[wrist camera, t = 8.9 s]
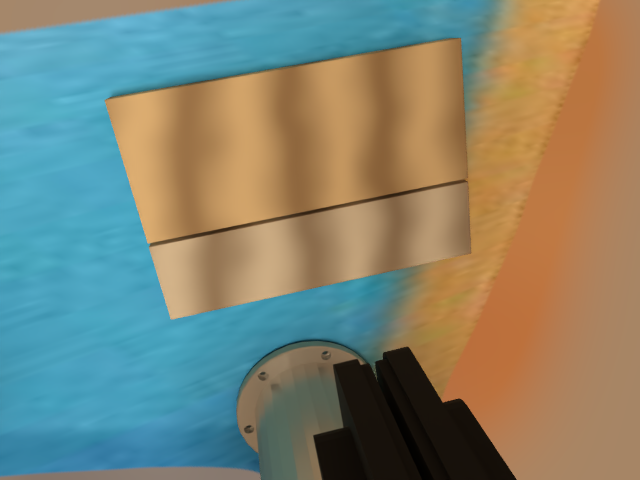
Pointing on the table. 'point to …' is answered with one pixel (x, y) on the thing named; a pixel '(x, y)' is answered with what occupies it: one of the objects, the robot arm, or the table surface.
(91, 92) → the table surface
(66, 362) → the table surface
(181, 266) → the ash board
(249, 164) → the oak plank
